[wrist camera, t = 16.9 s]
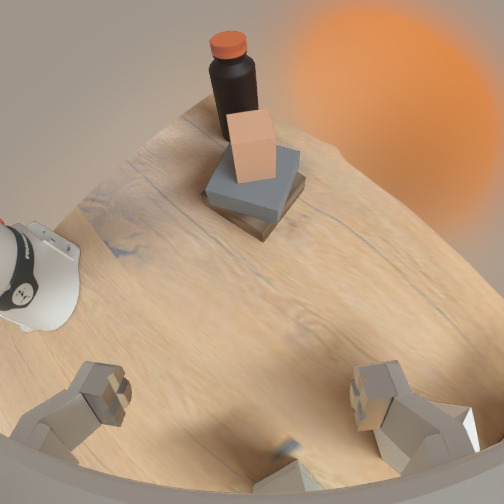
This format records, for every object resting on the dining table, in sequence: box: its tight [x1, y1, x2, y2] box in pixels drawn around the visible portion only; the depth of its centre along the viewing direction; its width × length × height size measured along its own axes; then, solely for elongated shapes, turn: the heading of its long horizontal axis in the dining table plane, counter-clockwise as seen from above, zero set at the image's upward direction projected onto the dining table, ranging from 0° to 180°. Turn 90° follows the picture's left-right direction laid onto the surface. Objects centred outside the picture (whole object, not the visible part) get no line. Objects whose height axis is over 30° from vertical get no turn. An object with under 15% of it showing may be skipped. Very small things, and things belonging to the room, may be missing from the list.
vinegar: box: [209, 31, 259, 141], centre depth 44 cm, size 7×7×20 cm
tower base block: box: [201, 172, 306, 242], centre depth 47 cm, size 11×11×4 cm
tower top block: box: [205, 141, 300, 225], centre depth 43 cm, size 10×10×4 cm
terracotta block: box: [226, 109, 276, 184], centre depth 38 cm, size 5×5×8 cm
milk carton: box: [373, 401, 480, 475], centre depth 26 cm, size 7×7×19 cm
